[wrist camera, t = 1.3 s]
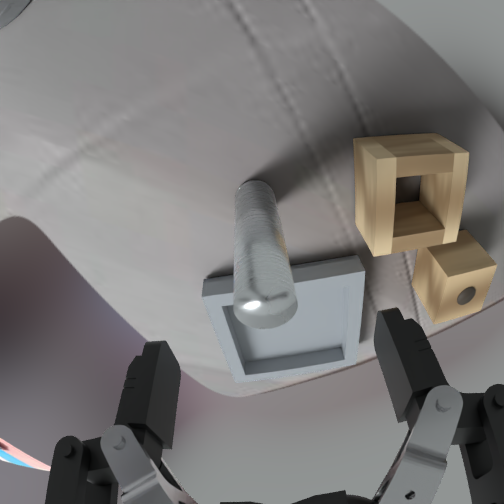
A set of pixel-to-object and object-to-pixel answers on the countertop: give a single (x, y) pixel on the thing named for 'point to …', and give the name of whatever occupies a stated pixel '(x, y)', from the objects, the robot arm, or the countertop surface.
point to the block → (453, 277)
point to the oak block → (410, 213)
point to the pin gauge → (261, 260)
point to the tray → (294, 323)
